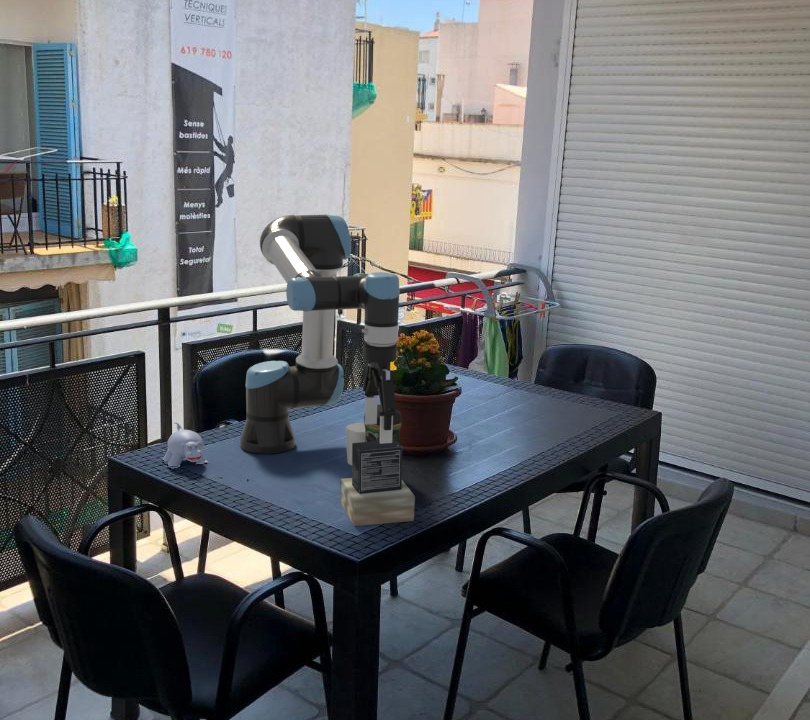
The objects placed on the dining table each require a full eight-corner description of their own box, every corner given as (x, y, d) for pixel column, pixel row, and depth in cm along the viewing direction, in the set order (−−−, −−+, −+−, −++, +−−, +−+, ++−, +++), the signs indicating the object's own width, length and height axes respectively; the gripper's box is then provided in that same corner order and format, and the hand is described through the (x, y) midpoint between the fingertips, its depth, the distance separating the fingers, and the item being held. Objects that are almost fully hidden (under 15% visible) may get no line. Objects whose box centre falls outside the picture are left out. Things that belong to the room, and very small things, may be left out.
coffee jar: (405, 478, 238) (407, 409, 234) (381, 485, 233) (382, 414, 229) (381, 468, 245) (383, 400, 241) (357, 474, 240) (359, 405, 236)
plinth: (340, 502, 221) (341, 478, 220) (397, 497, 225) (397, 474, 224) (354, 526, 208) (354, 500, 207) (413, 520, 212) (414, 496, 211)
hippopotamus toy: (175, 476, 235) (174, 441, 232) (158, 458, 247) (156, 424, 245) (216, 470, 240) (215, 435, 238) (197, 453, 253) (196, 419, 250)
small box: (393, 480, 220) (394, 437, 218) (402, 489, 214) (404, 446, 212) (350, 484, 217) (351, 441, 214) (358, 494, 211) (359, 450, 208)
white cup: (378, 459, 251) (379, 424, 249) (369, 469, 244) (370, 433, 241) (350, 456, 253) (351, 421, 251) (341, 465, 246) (341, 429, 243)
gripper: (351, 331, 218) (349, 417, 223) (378, 356, 195) (375, 452, 200) (382, 330, 220) (380, 415, 225) (412, 355, 197) (409, 450, 202)
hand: (378, 433), depth 212 cm, fingers open, 13 cm apart
